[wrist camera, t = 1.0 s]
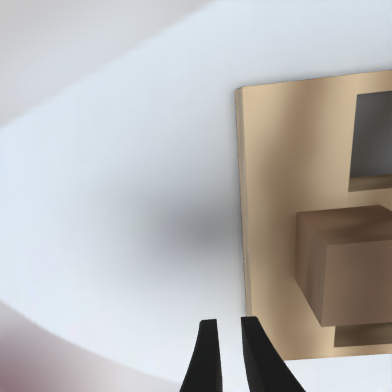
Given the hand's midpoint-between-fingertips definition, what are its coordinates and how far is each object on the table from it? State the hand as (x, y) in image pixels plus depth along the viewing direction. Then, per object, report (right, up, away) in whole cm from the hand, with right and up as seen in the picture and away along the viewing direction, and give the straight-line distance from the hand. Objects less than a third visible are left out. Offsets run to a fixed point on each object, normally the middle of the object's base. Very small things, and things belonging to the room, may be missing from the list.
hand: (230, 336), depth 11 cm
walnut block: (+7, +3, +6) cm, 10 cm away
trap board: (+11, +4, +8) cm, 14 cm away
